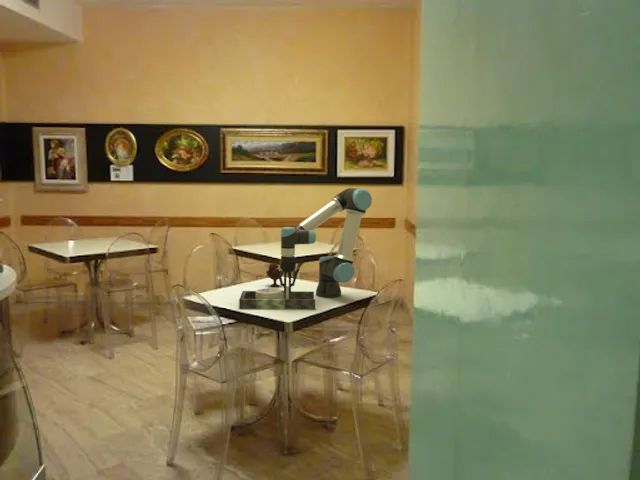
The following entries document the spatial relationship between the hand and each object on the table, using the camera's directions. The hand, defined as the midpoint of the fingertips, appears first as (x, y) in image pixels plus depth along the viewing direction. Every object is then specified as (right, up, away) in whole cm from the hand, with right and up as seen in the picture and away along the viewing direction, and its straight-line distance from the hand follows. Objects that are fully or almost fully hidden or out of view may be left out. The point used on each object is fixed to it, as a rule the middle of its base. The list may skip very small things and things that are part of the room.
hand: (287, 298), depth 314 cm
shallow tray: (-5, -3, 0) cm, 6 cm away
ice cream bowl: (-11, +2, +50) cm, 51 cm away
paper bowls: (-10, -4, 0) cm, 10 cm away
